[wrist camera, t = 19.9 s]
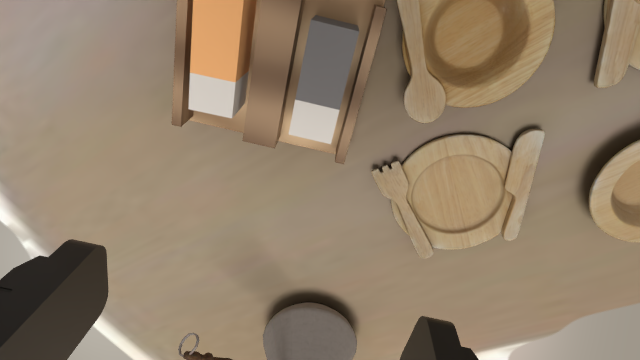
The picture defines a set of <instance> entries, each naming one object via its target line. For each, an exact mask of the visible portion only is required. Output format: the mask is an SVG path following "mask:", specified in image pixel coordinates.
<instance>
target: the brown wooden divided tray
mask: <svg viewBox="0 0 640 360" xmlns="http://www.w3.org/2000/svg"><path fill="white" fill-rule="evenodd" d="M384 3H385V0H257V3H256V12H255V20H254V29H253V38H252V47H251V56H250V65H249V73H248V82H247V91H246V100H245V104H244V105H243V106H242V107H241V109H240V110H239V111H238V112H237V113H236V114H235V116H234V117H233V118H227V117H222V116H218V115H213V114H209V113H204V112H199V111H195V110H190V109H188V108H189V84H190V61H191V38H192V14H193V0H177V14H176V37H175V61H174V85H173V108H172V125H176V126H180V127H181V126H182V125H183V124H185V123H186V122H187V121H188V120H190V121H195V122H199V123H203V124H208V125H212V126H216V127H221V128H225V129H229V130H234V131H238V132H242V133H243V141H245V142H250V143H254V144H258V145H263V146H267V147H271V148H275V146H276V144H277V142H278V141H281V142H286V143H290V144H294V145H299V146H303V147H307V148H312V149H316V150H320V151H324V152H329V153H333V154H336V157H335V162H336V163H341V164H344V162H345V158H346V154H347V151H348V147H349V144H350V140H351V136H352V133H353V129H354V126H355V122H356V118H357V115H358V111H359V108H360V104H361V100H362V97H363V93H364V90H365V86H366V82H367V79H368V75H369V72H370V68H371V64H372V61H373V57H374V54H375V50H376V46H377V43H378V39H379V36H380V32H381V28H382V25H383V21H384V18H385V14H386V10H387V9H386V8H385V7H384ZM315 15H318V16H322V17H326V18H330V19H334V20H338V21H342V22H346V23H350V24H354V25H358V27H359V35H358V39H357V43H356V47H355V51H354V55H353V59H352V63H351V67H350V71H349V75H348V78H347V82H346V86H345V90H344V94H343V98H342V102H341V106H340V110H339V114H338V118H337V122H336V126H335V130H334V134H333V138H332V142H331V144H328V143H323V142H319V141H315V140H310V139H306V138H302V137H298V136H293V135H289V129H290V124H291V119H292V114H293V108H294V103H295V98H296V93H297V88H298V83H299V78H300V73H301V67H302V62H303V57H304V52H305V47H306V42H307V37H308V31H309V26H310V21H311V19H312V18H313V17H314V16H315Z"/></svg>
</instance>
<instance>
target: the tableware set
mask: <svg viewBox="0 0 640 360" xmlns="http://www.w3.org/2000/svg"><path fill="white" fill-rule="evenodd" d="M396 1H397V6H398V10H399V14H400V19H401V23H402V27H403V34H402V51H403V58H404V62H405V65H406V68H407V71H408V73H409V75H410V77H411V78H410V81H409V83H408V85H407V87H406V89H405V91H404V98H403V102H404V106H405V109H406V111H407V113H408V114H409V116H410V117H411V118H412V119H414V120H415V121H417V122H420V123H430V122H432V121H434V120H436V119H437V118H438V117H439V116H440V115H441V114H442V112H443V110H444V108H445V105H448V106H452V107H460V108H470V107H478V106H483V105H486V104H490V103H493V102H496V101H498V100H500V99H502V98H504V97H506V96H508V95H509V94H511V93H512V92H514V91H516V90H517V89H518V88H519V87H520V86H522V85H523V84H524V83H525V82H526V81H527V80H528V79H529V78H530V77H531V76H532V75H533V73H534V72H535V71H536V70H537V68H538V67H539V65H540V64H541V63H542V61H543V59H544V57H545V56H546V54H547V51H548V49H549V46H550V44H551V40H552V37H553V33H554V27H555V8H554V1H553V0H396ZM604 25H605V30H604V34H603V39H602V44H601V49H600V54H599V58H598V63H597V68H596V73H595V78H594V86H595V87H597V88H607V87H610V86H613V85H615V84H617V83H619V82H620V81H621V79H622V78H623V76H624V75H625V73H626V71H627V69H628V66H629V65H630V66H632V67H634V68H635V69H638V70H640V0H605V2H604ZM544 136H545V131H543V130H541V129H529V130H527V131H524V132H523V133H522V134H520V135H519V137H518V138H517V140H516V142H515V144H514V146H513V150H512V152H511V151H510V150H509V149H508V148H507V147H505V146H504V145H502V144H501V143H499V142H497V141H495V140H493V139H491V138H488V137H485V136H481V135H474V134H455V135H449V136H444V137H441V138H438V139H435V140H433V141H431V142H429V143H427V144H425V145H423V146H422V147H420V148H419V149H417V150H416V151H415V152H413V153H412V154H411V155H410V156H409V157H408V158H407V159H406V160H405V162H404V163H403V164H402V166H401V164H400V162H399V161H395V162H392V163H391V166H392V168H389V167H388V165H384V166H383V167H382V170H383V171H382V172H380V171H379V169H378V168H377V169H374V170H372V172H371V173H372V175H373V177H374V179H375V182H376V184H377V186H378V188H379V190H380V191H381V193H382V195H383V196H385V197H387V198H389V199H391V206H392V210H393V214H394V217H395V219H396V221H397V222H398V224H399V225H400V227H401V228H402V229H403V230H404V231H405V232H406V233H407V234H408V235H409V236H410V237H411V240H412V242H413V245H414V247H415V249H416V251H417V254H418V255H419V257H420V258H429V257H431V256H432V255H433V248H438V249H446V250H456V249H464V248H469V247H472V246H476V245H478V244H481V243H484V242H486V241H488V240H490V239H492V238H494V237H495V236H497V235H499V234H500V233H501V234H502V236H503V238H504V239H505V240H507V241H512V240H514V239H515V238H516V237H517V235H518V233H519V230H520V226H521V222H522V219H523V215H524V211H525V208H526V204H527V200H528V197H529V193H530V189H531V186H532V182H533V178H534V174H535V170H536V166H537V163H538V159H539V155H540V151H541V147H542V144H543V140H544ZM589 210H590V214H591V216H592V218H593V220H594V222H595V223H596V225H597V226H598V227H599V228H600V229H601V230H602V231H604V232H605V233H606V234H608V235H610V236H612V237H614V238H617V239H620V240H624V241H629V242H640V140H638V141H636V142H634V143H632V144H630V145H628V146H627V147H625V148H623V149H622V150H621V151H619V152H618V153H617V154H615V155H614V156H613V157H612V158H611V159H610V160H609V161H608V162H607V163H606V164H605V165H604V166H603V168H602V169H601V170H600V172H599V173H598V175H597V176H596V178H595V179H594V182H593V184H592V186H591V189H590V193H589ZM432 247H433V248H432Z"/></svg>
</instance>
